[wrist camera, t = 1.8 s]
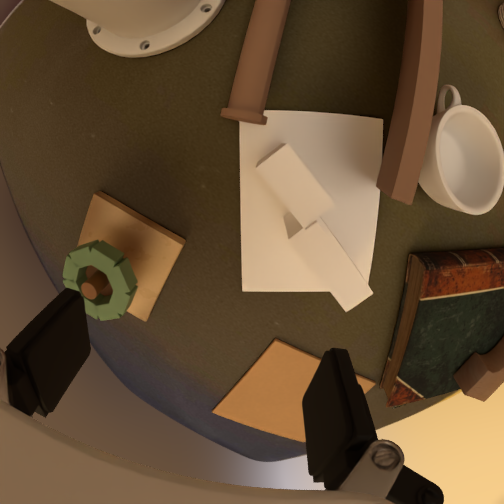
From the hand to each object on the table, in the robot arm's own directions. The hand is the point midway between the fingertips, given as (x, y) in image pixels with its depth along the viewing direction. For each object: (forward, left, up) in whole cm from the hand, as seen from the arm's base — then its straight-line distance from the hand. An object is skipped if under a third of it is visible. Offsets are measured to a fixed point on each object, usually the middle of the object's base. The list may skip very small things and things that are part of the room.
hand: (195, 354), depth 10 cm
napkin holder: (+4, +5, -15) cm, 16 cm away
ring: (-7, -7, -10) cm, 15 cm away
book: (+29, +6, -15) cm, 33 cm away
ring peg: (-7, -7, -15) cm, 18 cm away
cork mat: (+16, -14, -15) cm, 25 cm away
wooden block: (+31, -1, -9) cm, 32 cm away
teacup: (+11, +15, -15) cm, 24 cm away
